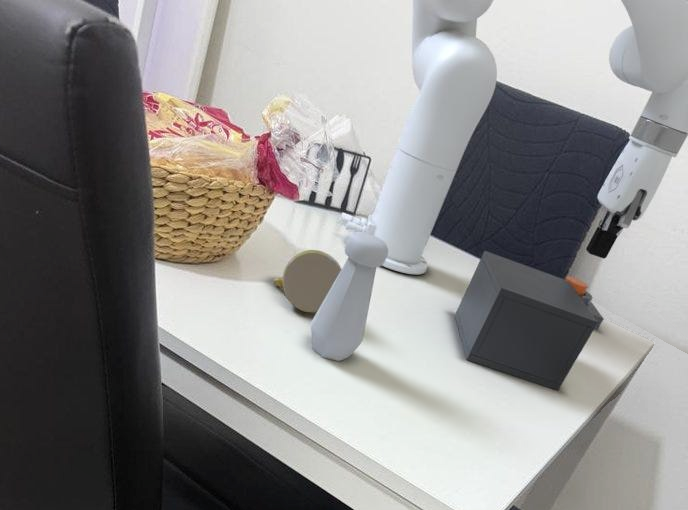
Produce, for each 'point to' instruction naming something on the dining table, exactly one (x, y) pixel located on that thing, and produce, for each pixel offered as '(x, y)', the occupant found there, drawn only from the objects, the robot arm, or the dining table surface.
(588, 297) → the panel
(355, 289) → the salt shaker
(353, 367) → the dining table surface
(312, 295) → the mug
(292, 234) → the dining table surface
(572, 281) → the button
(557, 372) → the box
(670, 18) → the robot arm
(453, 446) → the dining table surface
